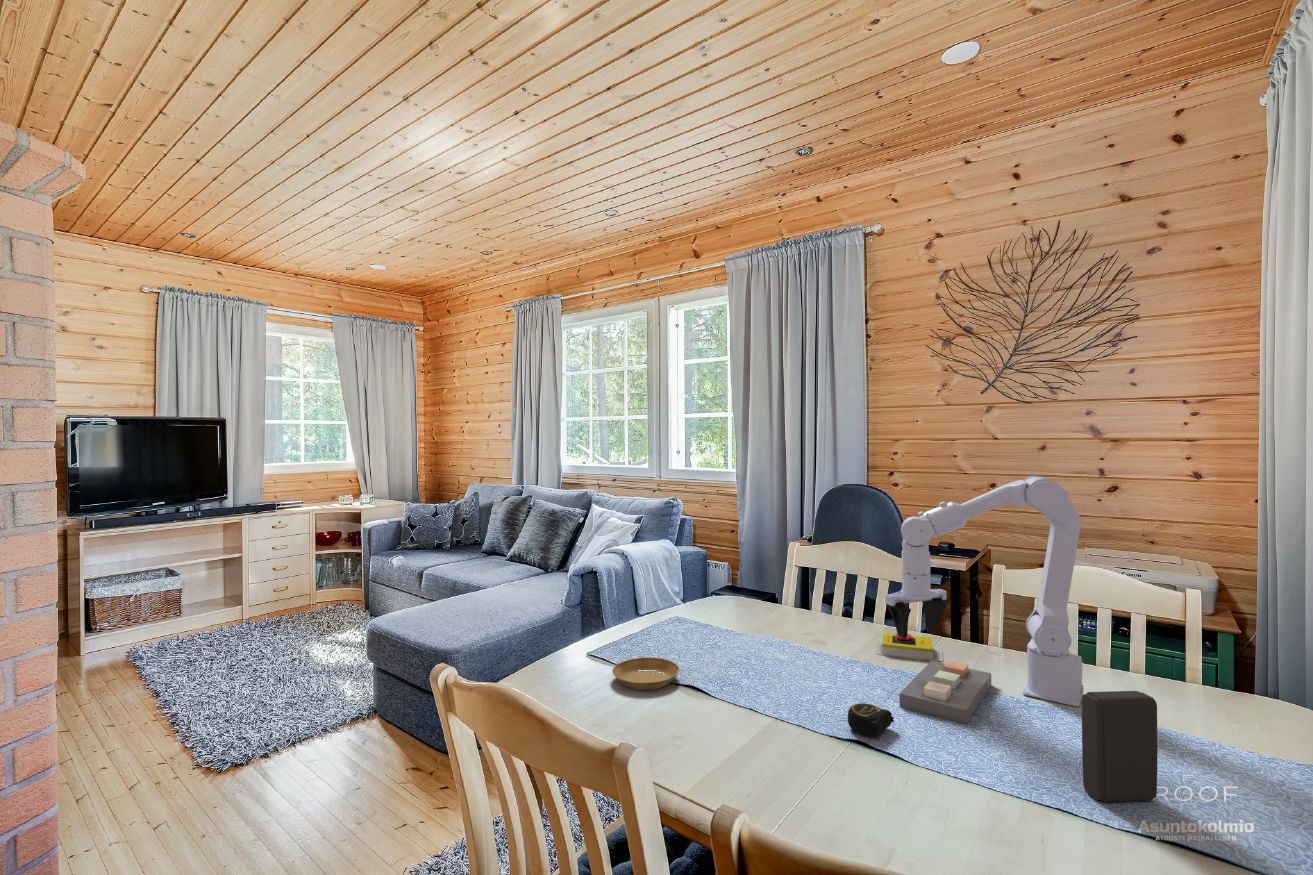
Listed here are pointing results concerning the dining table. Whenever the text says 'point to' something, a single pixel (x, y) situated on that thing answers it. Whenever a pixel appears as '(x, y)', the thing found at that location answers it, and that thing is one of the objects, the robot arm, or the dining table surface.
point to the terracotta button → (956, 668)
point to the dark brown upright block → (1119, 746)
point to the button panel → (961, 698)
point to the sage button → (947, 679)
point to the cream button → (937, 691)
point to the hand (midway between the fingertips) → (916, 634)
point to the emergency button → (908, 647)
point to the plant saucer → (645, 673)
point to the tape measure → (869, 719)
